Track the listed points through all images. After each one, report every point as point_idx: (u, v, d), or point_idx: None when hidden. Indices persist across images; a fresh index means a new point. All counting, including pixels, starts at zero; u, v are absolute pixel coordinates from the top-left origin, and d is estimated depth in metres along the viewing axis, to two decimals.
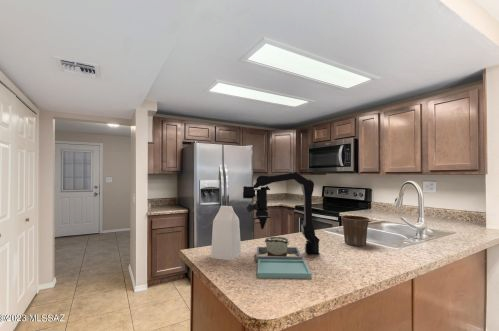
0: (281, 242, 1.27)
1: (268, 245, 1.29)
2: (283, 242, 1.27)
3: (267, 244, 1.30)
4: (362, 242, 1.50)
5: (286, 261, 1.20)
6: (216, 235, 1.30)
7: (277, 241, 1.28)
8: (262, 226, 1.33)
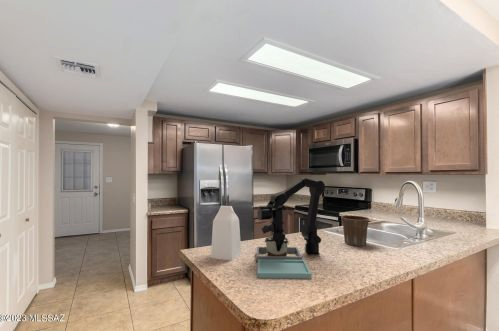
0: None
1: (268, 245, 1.29)
2: (283, 242, 1.27)
3: (267, 244, 1.30)
4: (362, 242, 1.50)
5: (286, 261, 1.20)
6: (216, 235, 1.30)
7: None
8: (278, 248, 1.27)
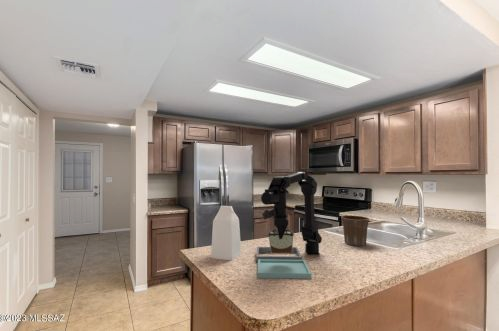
0: (286, 235, 1.15)
1: (271, 240, 1.16)
2: (288, 235, 1.15)
3: (270, 238, 1.16)
4: (362, 242, 1.50)
5: (286, 261, 1.20)
6: (216, 235, 1.30)
7: None
8: (280, 236, 1.14)
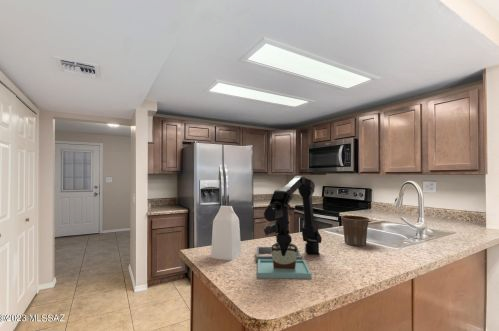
0: (290, 250, 1.10)
1: (274, 255, 1.11)
2: (292, 250, 1.10)
3: (273, 253, 1.11)
4: (362, 242, 1.50)
5: None
6: (216, 235, 1.30)
7: None
8: (283, 253, 1.09)
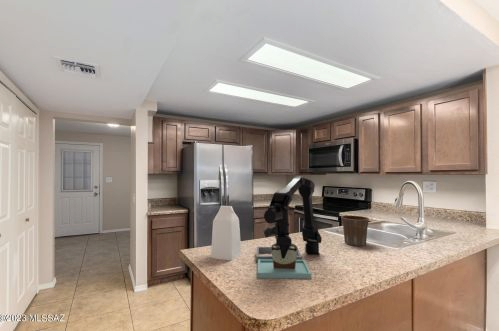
0: (290, 250, 1.10)
1: (274, 255, 1.11)
2: (292, 250, 1.10)
3: (273, 253, 1.11)
4: (362, 242, 1.50)
5: None
6: (216, 235, 1.30)
7: None
8: (283, 255, 1.08)
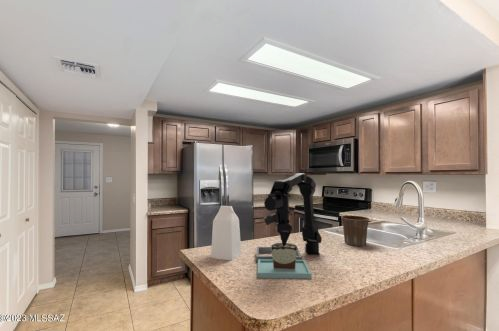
0: (289, 249, 1.11)
1: (274, 254, 1.12)
2: (292, 249, 1.11)
3: (273, 252, 1.12)
4: (362, 242, 1.50)
5: None
6: (216, 235, 1.30)
7: (285, 248, 1.12)
8: (284, 242, 1.09)
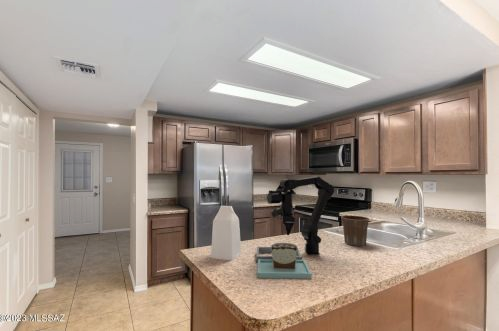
0: (289, 249, 1.11)
1: (274, 254, 1.12)
2: (292, 249, 1.11)
3: (273, 252, 1.12)
4: (362, 242, 1.50)
5: None
6: (216, 235, 1.30)
7: (285, 248, 1.12)
8: (288, 232, 1.28)
